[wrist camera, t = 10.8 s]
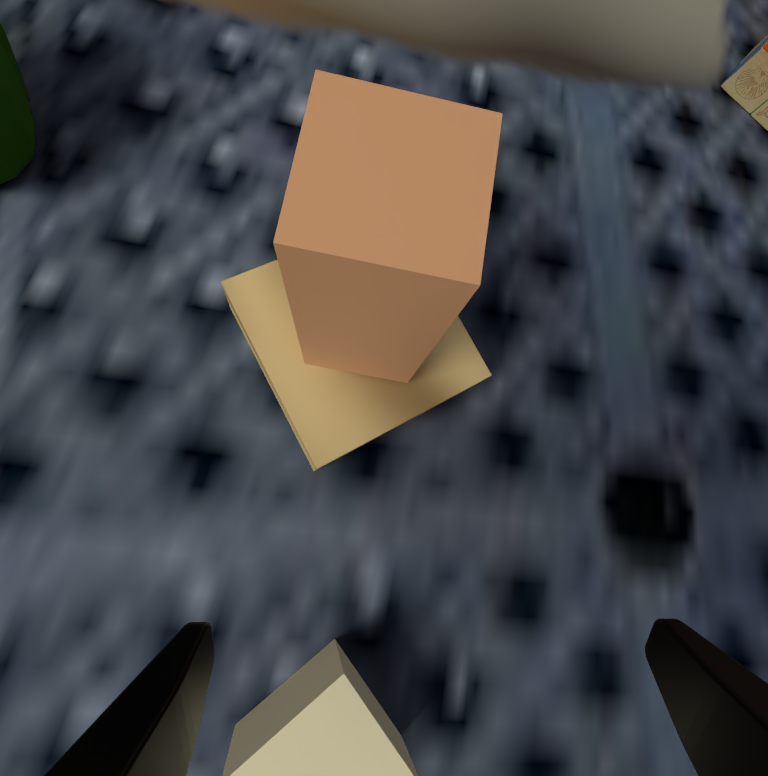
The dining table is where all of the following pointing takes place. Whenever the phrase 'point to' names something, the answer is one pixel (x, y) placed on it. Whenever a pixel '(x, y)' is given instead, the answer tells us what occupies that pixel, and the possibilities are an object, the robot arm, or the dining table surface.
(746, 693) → the robot arm
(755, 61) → the stack of blocks
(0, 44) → the bell pepper
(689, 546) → the dining table surface
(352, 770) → the brick
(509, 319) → the dining table surface
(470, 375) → the base brick
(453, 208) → the pillar brick
